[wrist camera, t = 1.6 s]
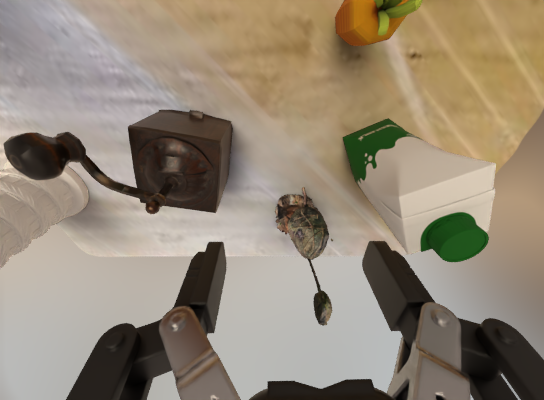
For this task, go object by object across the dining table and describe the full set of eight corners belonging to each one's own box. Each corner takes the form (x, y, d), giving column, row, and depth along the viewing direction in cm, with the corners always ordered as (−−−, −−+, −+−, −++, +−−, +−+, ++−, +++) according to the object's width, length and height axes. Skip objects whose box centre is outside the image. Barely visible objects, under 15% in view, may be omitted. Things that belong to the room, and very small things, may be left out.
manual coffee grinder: (234, 116, 32) (204, 168, 17) (228, 182, 38) (202, 265, 23) (121, 95, 30) (-26, 132, 15) (133, 168, 36) (36, 247, 21)
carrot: (333, 59, 28) (386, 58, 16) (314, 18, 26) (358, -20, 14) (369, 31, 27) (460, 6, 14) (352, -14, 25) (443, -91, 12)
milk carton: (348, 181, 38) (413, 276, 21) (335, 133, 34) (403, 207, 17) (400, 161, 36) (516, 249, 19) (393, 108, 32) (536, 162, 15)
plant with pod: (330, 190, 39) (378, 289, 22) (303, 235, 45) (325, 341, 28) (288, 176, 37) (306, 272, 21) (265, 225, 43) (265, 331, 26)
